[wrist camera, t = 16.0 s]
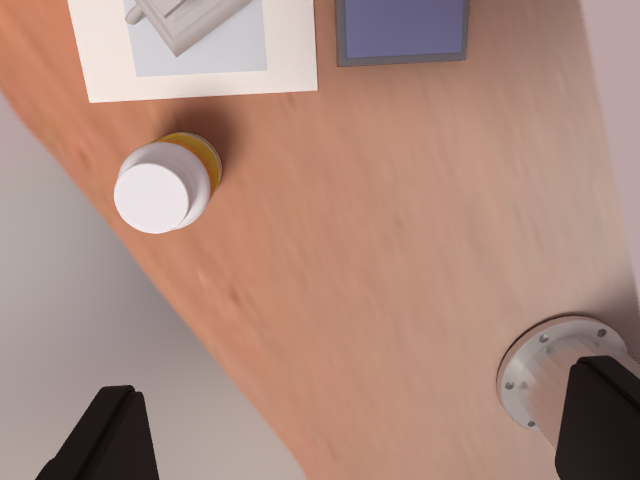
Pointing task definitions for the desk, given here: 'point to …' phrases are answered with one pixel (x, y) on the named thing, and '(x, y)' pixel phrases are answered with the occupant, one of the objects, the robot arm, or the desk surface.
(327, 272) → the desk surface
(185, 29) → the stamp
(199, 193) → the supplement bottle
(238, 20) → the paper
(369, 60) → the ink pad
